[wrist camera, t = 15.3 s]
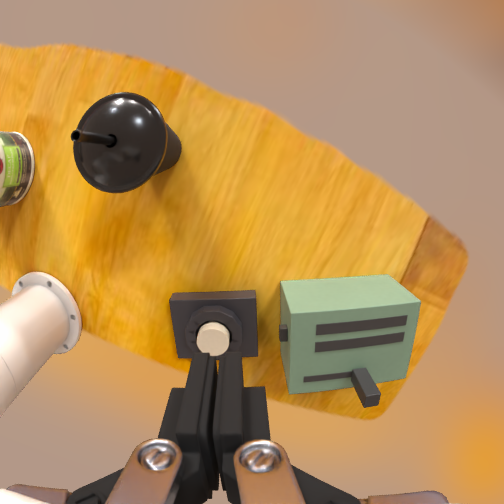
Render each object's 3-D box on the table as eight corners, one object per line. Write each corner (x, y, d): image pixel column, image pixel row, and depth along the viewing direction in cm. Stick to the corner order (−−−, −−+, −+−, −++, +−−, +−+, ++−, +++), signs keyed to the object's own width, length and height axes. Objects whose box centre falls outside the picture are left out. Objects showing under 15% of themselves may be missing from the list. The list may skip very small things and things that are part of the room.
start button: (200, 348, 37) (198, 356, 35) (196, 321, 36) (194, 328, 34) (230, 347, 37) (230, 355, 35) (228, 320, 36) (227, 328, 34)
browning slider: (350, 380, 32) (363, 408, 28) (352, 368, 32) (366, 396, 27) (364, 378, 32) (378, 405, 28) (366, 367, 32) (381, 393, 27)
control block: (181, 348, 41) (175, 365, 37) (173, 292, 39) (166, 306, 35) (257, 346, 41) (258, 363, 37) (255, 289, 39) (256, 303, 35)
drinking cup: (170, 195, 36) (95, 229, 16) (118, 161, 34) (8, 165, 15) (207, 138, 34) (166, 106, 15) (152, 105, 33) (67, 52, 14)
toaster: (274, 352, 41) (281, 395, 32) (273, 281, 39) (282, 313, 30) (379, 341, 41) (405, 378, 33) (388, 274, 39) (421, 301, 30)
